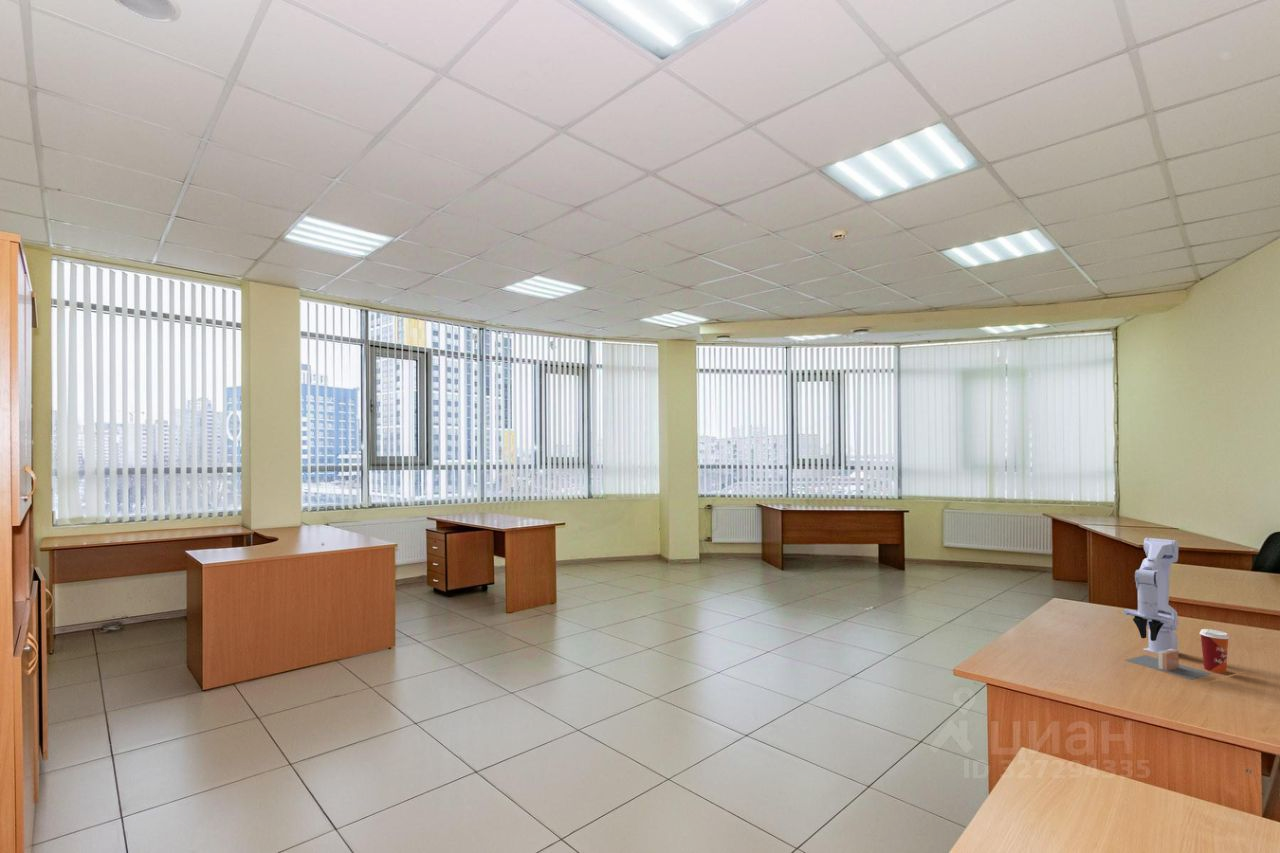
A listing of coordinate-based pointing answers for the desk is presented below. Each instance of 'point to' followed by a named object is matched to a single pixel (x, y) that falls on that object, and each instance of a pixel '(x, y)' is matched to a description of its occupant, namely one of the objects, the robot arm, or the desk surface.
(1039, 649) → the desk surface
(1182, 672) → the mat
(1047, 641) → the desk surface
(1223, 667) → the paper cup
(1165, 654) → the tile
